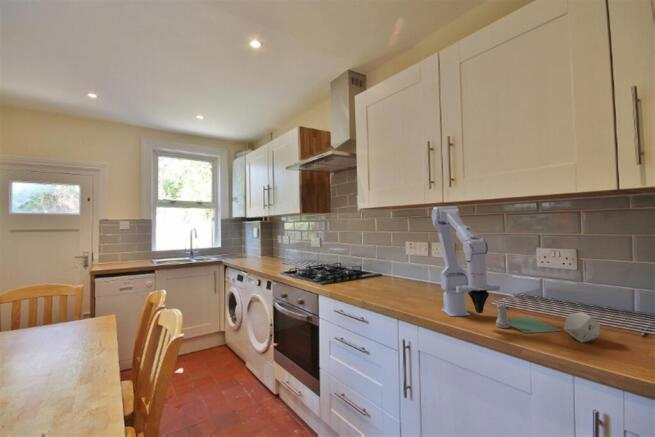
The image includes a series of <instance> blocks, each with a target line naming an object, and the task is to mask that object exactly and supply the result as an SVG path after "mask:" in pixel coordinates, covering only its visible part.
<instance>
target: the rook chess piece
mask: <svg viewBox="0 0 655 437" xmlns="http://www.w3.org/2000/svg"><path fill="white" fill-rule="evenodd" d="M496 307H497V313H498V314H497V318H496V320H495V326H496V327H497V328H499V329H510V327H511V325H509V324H510V322H509V321H508V319H509V318H508V317H507V316H508V315H507V308H508V305H507V304H506V303H505V302H503V303H502V302H497V305H496Z"/></svg>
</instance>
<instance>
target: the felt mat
mask: <svg viewBox="0 0 655 437" xmlns="http://www.w3.org/2000/svg"><path fill="white" fill-rule="evenodd" d="M507 319H508V321H509V322H510V324H509V325H510V327H513V328H514V329H516V330H517V331H520V332H522V333H524V334H536V333H541V334H542V333H555V332H560V333H561V332H562V330H561V329H559V328H557V327H554V326H552V325H549V324H548V323H545V322H543V321H541V320H539V319H536V318H534V317H517V318H507Z"/></svg>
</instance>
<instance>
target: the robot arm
mask: <svg viewBox="0 0 655 437" xmlns="http://www.w3.org/2000/svg"><path fill="white" fill-rule="evenodd" d="M430 216H431V221H432V225H433V228H434V229H436V230H437V234H438V240H439V244H440V248H441V254H442V257H443V258H442V259H443V262H444V267H445V268H444V269H442V270H441V272H440V273H439V278H440V281H439V282H440V287H441V289H442V290H443V291H444V292H443V294H442V296H443V298H442V299H443V308H441V310H442V311H443V312H444V313H446V314H447V315H448V316H450V317H465V316H466V317H467V316H471V313H469V312H468V311H467V305H466V293H467V294H468V295H469V297H470V298H471V299H470V300H471V301H472V303H473V306H474V309H475V313H477V314H483V312H484V307H485V303H486V301H487V299H488V298H489V297H490V296H489V294H490V293H489V292H494V291H495V292H500V291H501V285H499V284H493V283H491V284H487V268H486V255H487V253H488V252H489V244H488V241H487V240H486V239H485V238H484V237H481V236H480V237H479V236H478V235H477V234H476V233H475V232H474V230H473V229H472V228H471V227H470V226H469V225H465V223H464V222H463V221H462V218H461V217H460V210H459V207H457V206H456V205H453V206H434V207H433V208H432V210H431V215H430ZM453 228H454V229H455V230H456V231H455V236H456V237H457V239H458V240H459V241H460V243H461V244H462V250H463V251H462V252H463V254H464V258H465V261H466V263H467V264H466V266H467V271H466V270H465V269H464V268H462V267H460V266H459V263H458V260H457V259H458V258H457V254H456V250H455V247H454V241H453V237H452V233H451V229H453Z"/></svg>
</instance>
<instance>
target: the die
mask: <svg viewBox="0 0 655 437" xmlns="http://www.w3.org/2000/svg"><path fill="white" fill-rule="evenodd" d="M563 330H564V331H565V332H566V333H568V334H569V335H571V337H573V338H574V339H576V340H577V341H578V342H580V343H586V342H590V341H595V340H596V339H598V337H599V336H600V331H601V324H600V323H599V322H598V321H597V320H596V319H595V318H593V317H592V316H590V315H588V314H586V313H585V312H583V311H581V312H576V313H575V312H573V313H569V314H568V315H567V317H566V318H565V320H564V326H563Z"/></svg>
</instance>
